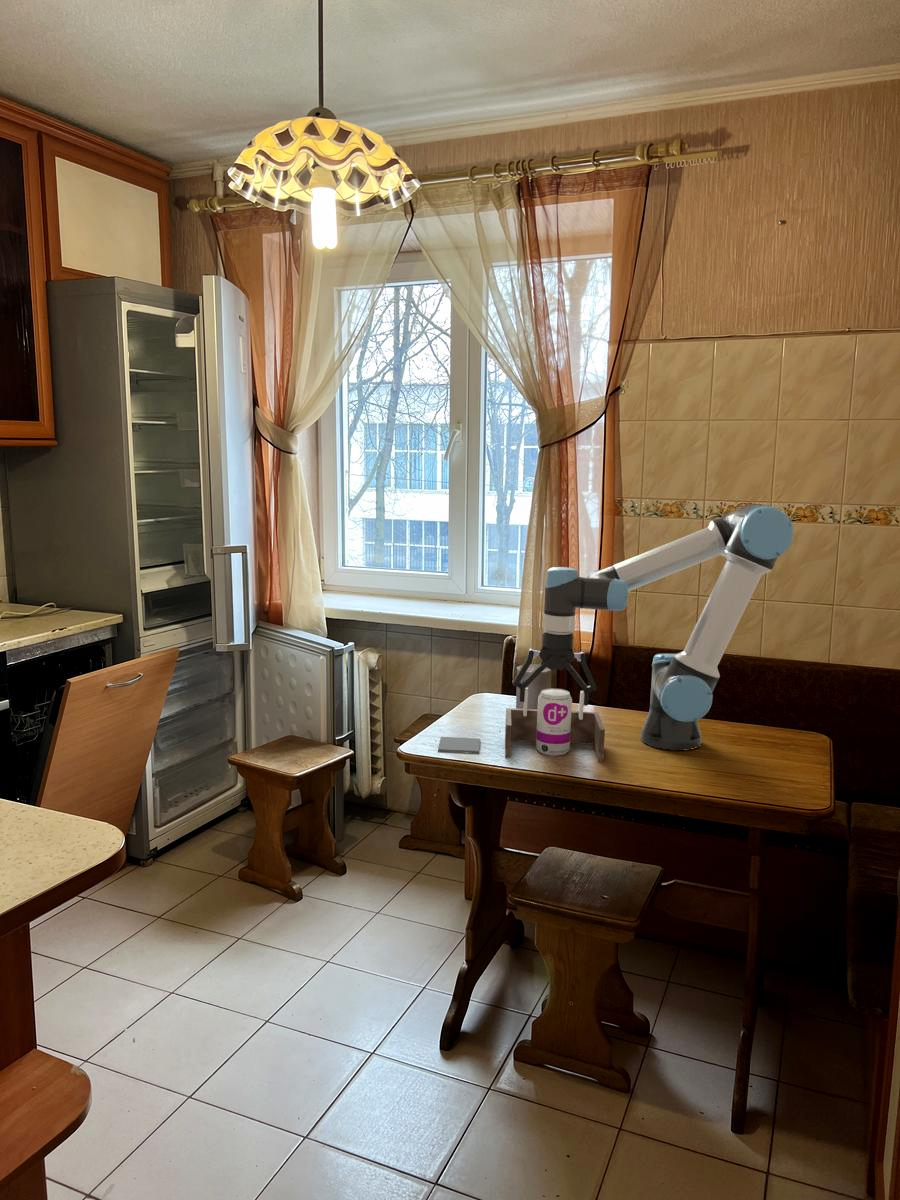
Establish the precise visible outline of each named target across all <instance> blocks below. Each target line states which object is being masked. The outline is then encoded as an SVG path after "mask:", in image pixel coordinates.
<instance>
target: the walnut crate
mask: <svg viewBox="0 0 900 1200" xmlns="http://www.w3.org/2000/svg"><path fill="white" fill-rule="evenodd" d="M505 709H506V710H505V726H504V727H505V730H504V758H507V757H510V758H511V743H512V741H520V740H523V742H536V734H537V712H538V710H536V709H527V716H523V709H516V708H512V707H511V708H510V707H509V708H508V707H506V708H505ZM605 733H606V728H605V726H604V723H603V721H602V718H601V715H600V713H599V712H598V711H596V712H595V711H583V720H580V719H579V710H578V711H577V710H576V711H575V710H573V711H572V712H571V731H570V744H583V745H584V744H588V745H589V744H590V745H592V747H593V750H594V754H595V757H596V760H597V762H598V763H604V755H605V754H604V753H605V738H606V737H605V736H606V735H605Z"/></svg>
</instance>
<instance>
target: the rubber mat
mask: <svg viewBox="0 0 900 1200" xmlns="http://www.w3.org/2000/svg"><path fill="white" fill-rule="evenodd" d="M480 746H481V738H479V737H478V738H477V737H459V736H458V737H457V736H456V737H455V736H441V737H440V738H439V744H438V749H437V751H438V752H441V753H459V752H468V753H467V754H480V749H479V748H480Z"/></svg>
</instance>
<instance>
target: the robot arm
mask: <svg viewBox="0 0 900 1200" xmlns="http://www.w3.org/2000/svg"><path fill="white" fill-rule="evenodd" d="M793 540H794V527H793V524H792V521H791V519H790V518H789V517H788V515H787V514H786V513H785V512H783V511H782V510H781V509H779V508H777V507H776V506H771V505H767V504H766V505H765V504H760V503H749V504H745V505H743V506H741V507H739V508H737V509H734V510H733V511H731V512H729V513H727V514H725V515H722V516H720V517H718V518H716V519H714V520H710V522H709V525H708V526H707V527H705V528H702V529H700V530H697V531H695V532H692V533H689V534H688V535H685V536H682V537H680V538H678V539H676V540H672V541H670V542H667V543H666V544H663V545H661V546H658V547H655V548H652V549H651V550H650V549H649V550H648V551H645V552H642V553H640V554H638V555H636V556H633V557H630V558H628V559H625V560H623V561H621V562H619V563H616V564H613V565H611V566H608V567H606V568H603V569H597V570H594V571H591V572H590V573H589V574H588V575H587V576H586V577H582V576H579V571H578V569H576V568H573V567H567V566H566V567H565V566H554V567H550V568H548V570H547V572H546V577H545V578H546V579H545V586H544V587H545V588H544V606H543V608H544V610H543V618H542V619H543V622H542V629H543V632H542V637H541V638H542V639H541V648H540V650H536V649H535V650H534V648H531V647H530V648H528V652H527V653H528V654H527V656H526V658H525V660H524V662H523V663H522V664H521V665H522V667H521V669H520V670H519V672H518V674H517V673H516V676H515V677H514V679H513V681H512V684H513V685H512V686H514V687H516V688H517V687H518V688H520V702H524V709H523V716H527V701H528V688H526V687H527V686H528V685H529V684H530V683H531V682H532V681H533V680H534V679H535V678H536V677H537V676H538V675H539V674H540V673H541V672H542V671H543V670H544V669H545V668H546V667H547V668H549V669H551V671H552V670H558V671H563V670H565V669H566V670H567V672H568V673H569V674H570V675H571V676H572V678H573V679H574V681H575V682H576V683H577V684H578V685H579V687H580V689H581V690H580V693H579V703H578V704H579V705H578V711H579V719H580V720H583V712H584V707H585V706H588V705H589V698H590V696H589V695H590V693H592V692H596V691H597V690H598V688H597V685H596V683H595V680H594V678H593V675H592V673H591V671H590V669H589V666H588V663H587V662H586V661H587V658H586V653H585V651H580V652H574V639H575V638H574V637H575V635H574V633H573V632H574V631H575V626H576V625H575V621H576V609H584V610H586V609H587V610H589V609H590V610H596V611H597V610H598V611H599V610H600V611H609V612H613V611H615V612H621V611H624V610H626V608H627V604H628V596H629V595H628V594H629V592H630V591H633V590H635V589H637V588H641V587H642V586H646V585H647V584H648V585H649V584H651V583H653V582H655V581H658V580H660V579H663V578H666V577H667V576H671V575H674V574H676V573H678V572H681V571H682V570H686V569H689V568H690V567H694V566H695V565H698V564H701V563H704V562H706V561H708V560H711V559H714V558H716V557H719V556H722V557H725V558H726V562H725V564H724V565H723V568H722V569H721V572H720V573H719V576H718V578H717V580H716V582H715V584H714V586H713V588H712V591H711V593H710V594H709V597H708V599H707V601H706V603H705V605H704V608H703V609H702V612H701V614H700V616H699V618H698V620H697V622H696V623H695V626H694V628H693V630H692V632H691V634H690V635H689V638H688V640H687V643H686V644H685V647H684V649H683V651H680V652H678V653H657V654H655V655H654V656H653V659H652V663H651V669H652V670H651V684H650V685H651V686H650V687H651V688H650V697H649V698H650V699H649V700H650V702H649V711H648V712H647V713H648V714H647V716H646V718H645V720H644V721H645V722H644V723H643V725H642V728H641V732H640V740H641V741H643V742H642V743H643V744H645V743H646V745H647V744H648V745H647V746H650V747H652V746H654V747H653V748H656V747H658V748H657V749H660V748H663V749H662V750H666V749H671V750H670V751H676V750H684V749H691V748H695V747H698V746H699V745H700V744H701V745H702V732H701V729H700V726H699V722H698V720H700V719H702V718H703V717H705V715H706V714H708V712H710V709H711V707H712V704H713V697H714V695H713V692H714V689H715V687H716V685H717V683H718V680H719V679H720V677H721V675H720V672H719V669H718V665H719V664H720V662H721V660H722V658H723V656H724V653H725V651H726V650H727V648H728V645H729V643H730V642H731V639H732V637H733V636H734V633H735V632H736V629H737V627H738V625H739V623H740V621H741V620H742V619H741V618H742V617H743V615H744V613H745V611H746V608H747V606H748V605H749V602H750V601H751V598H752V596H753V594H754V592H755V591H756V588H757V586H758V584H759V581H761V577H762V576H763V575H765V574H768V573H770V572H772V571H773V569H774V567H775V564H776V563H777V561H778V558H779V557H781V556H782V555H783V554H785V552H787V551H788V549H789V548H790V547H791V545H792V542H793ZM537 657H539V658H540V659H541V661H540V663H539V664H538V666H537V667H536V668H535V669H534V670H533V671H532V672H531V673H530V674H529V675H528V676H527V678H526V679H525V680H524V681H523V682H520V681H521V679H522V678H523V676H524V674H525V672H526V671H527V669H528V667H529V666H530V664H532V662H533V660H535V659H536V658H537ZM574 659H576V660H577V662H579V663H580V664H581V665H580V666H581V667H582V670H583V672H584V674H585V676H586V679H587V681H588V684H589V685H587V684H586V683H585V681H584V680H583V679H582V677H581V676H580V675H579V673H578V672H577V671H576V669H575V668H574V667H573V666H572V664H571V663H572V661H573V660H574Z"/></svg>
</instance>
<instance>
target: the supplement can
mask: <svg viewBox="0 0 900 1200" xmlns="http://www.w3.org/2000/svg"><path fill="white" fill-rule="evenodd" d="M572 706H573V698H572V696H571V693H570V691H568V690H565V689H564V688H563V689H562V688H551V689H544V690H542V691H541V693H540V695H539V697H538V712H537V734H536V741H535V749H536V750H537V751H538V752H539V753H540V754H543V755H545V756H546V755H547V756H551V757H553V756H564V755H566V754H567V753H568V752H569V751H570V748H571V745H570V744H571V743H570V731H571V712H572V708H573V707H572Z"/></svg>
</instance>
